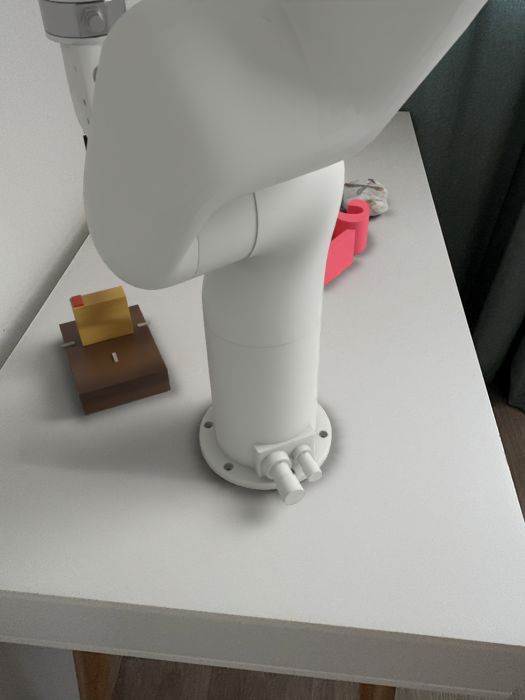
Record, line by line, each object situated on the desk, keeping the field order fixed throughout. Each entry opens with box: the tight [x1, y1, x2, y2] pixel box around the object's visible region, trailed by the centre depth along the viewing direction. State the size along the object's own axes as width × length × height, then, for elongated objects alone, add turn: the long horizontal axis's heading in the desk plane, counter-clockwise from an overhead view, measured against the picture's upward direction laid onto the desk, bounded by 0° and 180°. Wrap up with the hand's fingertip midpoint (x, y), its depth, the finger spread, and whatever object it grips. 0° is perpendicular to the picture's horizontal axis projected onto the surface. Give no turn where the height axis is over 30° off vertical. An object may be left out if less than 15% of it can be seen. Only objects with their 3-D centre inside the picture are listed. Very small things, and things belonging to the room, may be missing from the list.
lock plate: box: [58, 304, 172, 416], centre depth 68 cm, size 13×10×3 cm
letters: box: [324, 199, 370, 287], centre depth 83 cm, size 14×10×5 cm
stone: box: [341, 178, 390, 217], centre depth 94 cm, size 10×7×3 cm
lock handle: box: [69, 285, 134, 346], centre depth 66 cm, size 6×2×5 cm, turn 113°
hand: (115, 186), depth 69 cm, fingers open, 9 cm apart
